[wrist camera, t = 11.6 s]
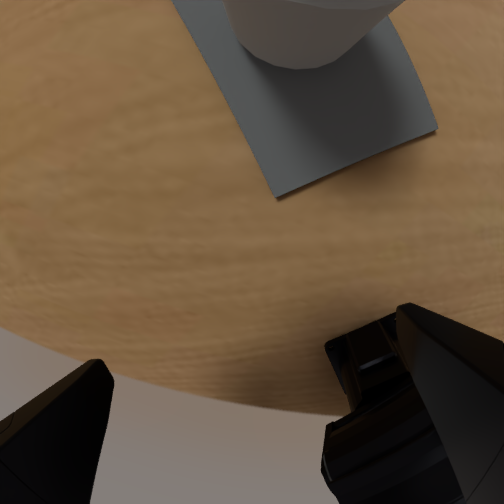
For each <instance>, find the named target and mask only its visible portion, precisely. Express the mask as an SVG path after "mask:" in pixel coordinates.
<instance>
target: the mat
mask: <svg viewBox="0 0 504 504" xmlns="http://www.w3.org/2000/svg"><path fill="white" fill-rule="evenodd" d="M171 1H172V2H173V4H174V6H175V8H176V9H177V11H178V13H179V15H180V16H181V18H182V20H183V22H184V23H185V25H186V27H187V29H188V30H189V32H190V34H191V36H192V38H193V39H194V41H195V43H196V45H197V47H198V48H199V50H200V52H201V54H202V56H203V58H204V59H205V61H206V63H207V65H208V67H209V69H210V71H211V72H212V74H213V76H214V78H215V80H216V82H217V84H218V86H219V87H220V89H221V91H222V93H223V95H224V97H225V99H226V101H227V103H228V105H229V107H230V109H231V110H232V112H233V114H234V116H235V118H236V120H237V122H238V124H239V126H240V128H241V130H242V132H243V134H244V136H245V138H246V140H247V142H248V144H249V146H250V148H251V150H252V152H253V154H254V156H255V158H256V160H257V162H258V164H259V166H260V168H261V170H262V172H263V174H264V176H265V178H266V180H267V183H268V185H269V187H270V189H271V191H272V193H273V195H274V197H275V198H276V197H278V196H281V195H283V194H285V193H287V192H289V191H292V190H294V189H296V188H298V187H301V186H303V185H305V184H307V183H310V182H312V181H314V180H316V179H319V178H321V177H323V176H326V175H328V174H330V173H332V172H335V171H337V170H339V169H342V168H344V167H346V166H349V165H351V164H353V163H356V162H358V161H360V160H363V159H365V158H368V157H370V156H372V155H375V154H377V153H380V152H382V151H384V150H387V149H389V148H392V147H394V146H397V145H399V144H402V143H404V142H406V141H409V140H411V139H414V138H416V137H419V136H421V135H424V134H426V133H429V132H432V131H434V130H437V129H438V126H437V123H436V120H435V117H434V115H433V112H432V109H431V107H430V104H429V101H428V99H427V96H426V94H425V91H424V89H423V86H422V84H421V82H420V79H419V77H418V75H417V73H416V70H415V68H414V66H413V64H412V62H411V59H410V57H409V55H408V53H407V51H406V49H405V47H404V45H403V43H402V41H401V39H400V37H399V35H398V33H397V31H396V29H395V28H394V26H393V24H392V22H391V20H390V18H389V17H388V15H387V16H386V17H385V18H384V19H383V20H381V21H380V22H379V23H378V24H377V25H376V26H375V27H373V28H372V29H371V30H370V31H369V32H368V33H367V34H366V35H364V36H363V37H362V38H361V39H360V40H359V41H358V42H357V43H356V44H354V45H353V46H352V47H351V48H350V49H349V50H348V51H347V52H345V53H344V54H343V55H342V56H340V57H339V58H338V59H337V60H335V61H334V62H331V63H328V64H326V65H323V66H320V67H318V68H309V69H296V70H295V69H290V68H285V67H279V66H274V65H272V64H270V63H268V62H266V61H264V60H261V59H259V58H257V57H255V56H254V55H253V54H252V53H251V52H249V51H248V50H247V49H246V48H245V47H244V46H243V45H241V44H240V42H239V41H238V39H237V37H236V35H235V34H234V32H233V30H232V29H231V26H230V23H229V20H228V17H227V14H226V11H225V8H224V5H223V2H222V0H171Z"/></svg>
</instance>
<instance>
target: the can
mask: <svg viewBox="0 0 504 504" xmlns="http://www.w3.org/2000/svg"><path fill="white" fill-rule="evenodd" d="M404 1H405V0H222V2H223V5H224V8H225V11H226V14H227V17H228V20H229V23H230V26H231V29H232V30H233V32H234V34H235V35H236V37H237V39H238V41H239V42H240V44H241V45H243V46H244V47H245V48H246V49H247V50H248V51H249V52H251V53H252V54H253V55H254V56H255V57H257V58H259V59H261V60H264V61H266V62H268V63H270V64H272V65H274V66H279V67H285V68H290V69H295V70H296V69H309V68H318V67H320V66H323V65H326V64H328V63H331V62H334V61H335V60H337V59H338V58H339V57H340V56H342V55H343V54H344V53H345V52H347V51H348V50H349V49H350V48H351V47H352V46H353V45H354V44H356V43H357V42H358V41H359V40H360V39H361V38H362V37H363V36H364V35H366V34H367V33H368V32H369V31H370V30H371V29H372V28H373V27H375V26H376V25H377V24H378V23H379V22H380V21H381V20H383V19H384V18H385V17H386V16H387V15H388V14H390V13H391V12H392V11H393V10H394V9H395V8H397V7H398V6H399V5H400V4H401V3H403V2H404Z"/></svg>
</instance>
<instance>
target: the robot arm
mask: <svg viewBox="0 0 504 504" xmlns="http://www.w3.org/2000/svg"><path fill="white" fill-rule="evenodd" d="M395 318H396V320H394V319H395ZM330 346H333V347H332V348H329V347H330ZM324 347H325V351H326V353H327V355H328V358H329V360H330V362H331V364H332V366H333V368H334V371H335V373H336V375H337V377H338V379H339V382H340V384H341V386H342V388H343V390H344V393H345V394H346V395H347V398H348V402H349V405H350V409H351V413H350V414H348V415H346V416H344V417H343V418H341V419H339V420H337V421H335V422H331V423H329V424H327V425H326V430H325V439H324V446H323V453H322V460H321V473H322V475H323V477H324V479H325V482H326V484H327V486H328V488H329V489H330V491H331V492H332V493H333V494H334V495H335V496H336V498H337V500H338V502H339V504H504V343H503V341H501V340H499V339H496V338H494V337H492V336H489V335H487V334H485V333H482V332H480V331H477V330H475V329H473V328H470V327H468V326H466V325H463V324H461V323H459V322H456V321H454V320H452V319H449V318H447V317H444V316H442V315H440V314H437V313H435V312H433V311H430V310H428V309H425V308H423V307H421V306H418V305H416V304H413V303H410V302H409V303H405V304H402V305H399V306H397V309H396V312H394V313H392V314H390V315H387V316H385V317H383V318H381V319H379V320H377V321H374V322H372V323H370V324H368V325H365V326H363V327H361V328H358V329H356V330H354V331H351V332H349V333H347V334H344V335H342V336H340V337H337V338H335V339H332V340H330V341H328V342H326V343H325V345H324ZM113 389H114V379H113V376H112V375H111V373H110V371H109V370H108V368H107V366H106V365H105V363H104V361H103V360H101V359H91V360H88V361H87V362H86V363H84V364H83V365H81V366H80V367H78V368H77V369H75V370H74V371H73V372H71V373H70V374H68V375H67V376H65V377H64V378H63V379H61V380H59V381H58V382H57V383H55V384H54V385H52V386H51V387H49V388H48V389H46V390H45V391H44V392H42V393H41V394H39V395H38V396H36V397H35V398H33V399H32V400H31V401H29V402H28V403H26V404H25V405H23V406H22V407H21V408H19V409H18V410H16V411H15V412H13V413H12V414H10V415H9V416H7V417H6V418H4V419H3V420H1V421H0V504H90V499H91V495H92V489H93V485H94V480H95V475H96V471H97V466H98V462H99V457H100V453H101V449H102V445H103V441H104V437H105V433H106V429H107V424H108V419H109V413H110V407H111V401H112V395H113Z"/></svg>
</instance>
